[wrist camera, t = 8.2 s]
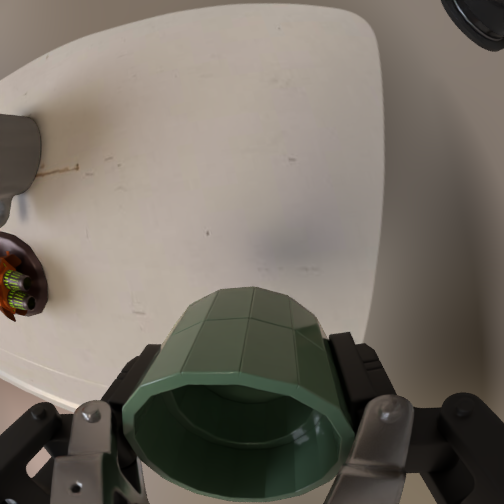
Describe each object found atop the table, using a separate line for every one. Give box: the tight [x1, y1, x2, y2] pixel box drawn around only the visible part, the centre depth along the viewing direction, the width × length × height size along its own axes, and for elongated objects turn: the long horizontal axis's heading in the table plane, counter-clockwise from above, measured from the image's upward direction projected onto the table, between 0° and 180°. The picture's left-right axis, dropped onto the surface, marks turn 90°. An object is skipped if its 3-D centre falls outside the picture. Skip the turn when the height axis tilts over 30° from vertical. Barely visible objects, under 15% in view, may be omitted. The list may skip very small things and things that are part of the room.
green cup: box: [122, 287, 355, 502], centre depth 8 cm, size 6×6×5 cm
